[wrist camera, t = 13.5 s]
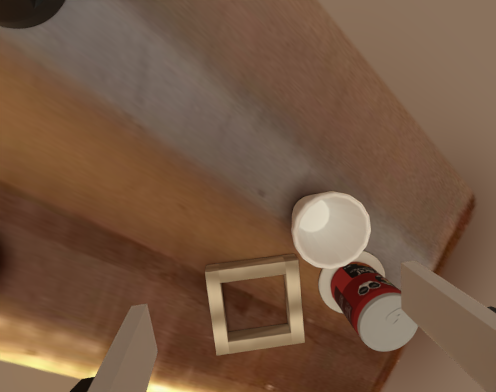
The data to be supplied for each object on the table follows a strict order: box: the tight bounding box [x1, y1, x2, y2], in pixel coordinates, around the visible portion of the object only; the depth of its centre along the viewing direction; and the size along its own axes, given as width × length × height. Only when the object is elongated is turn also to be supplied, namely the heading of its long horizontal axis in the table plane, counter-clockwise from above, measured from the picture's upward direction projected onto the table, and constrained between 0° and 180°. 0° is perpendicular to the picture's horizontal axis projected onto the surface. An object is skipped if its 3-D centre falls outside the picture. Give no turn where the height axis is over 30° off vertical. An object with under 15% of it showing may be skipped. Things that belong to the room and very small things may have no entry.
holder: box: [205, 254, 305, 355], centre depth 46 cm, size 14×14×2 cm
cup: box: [291, 191, 371, 269], centre depth 41 cm, size 10×10×9 cm
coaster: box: [318, 251, 385, 313], centre depth 47 cm, size 11×11×1 cm
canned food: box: [331, 262, 418, 351], centre depth 42 cm, size 8×8×11 cm
